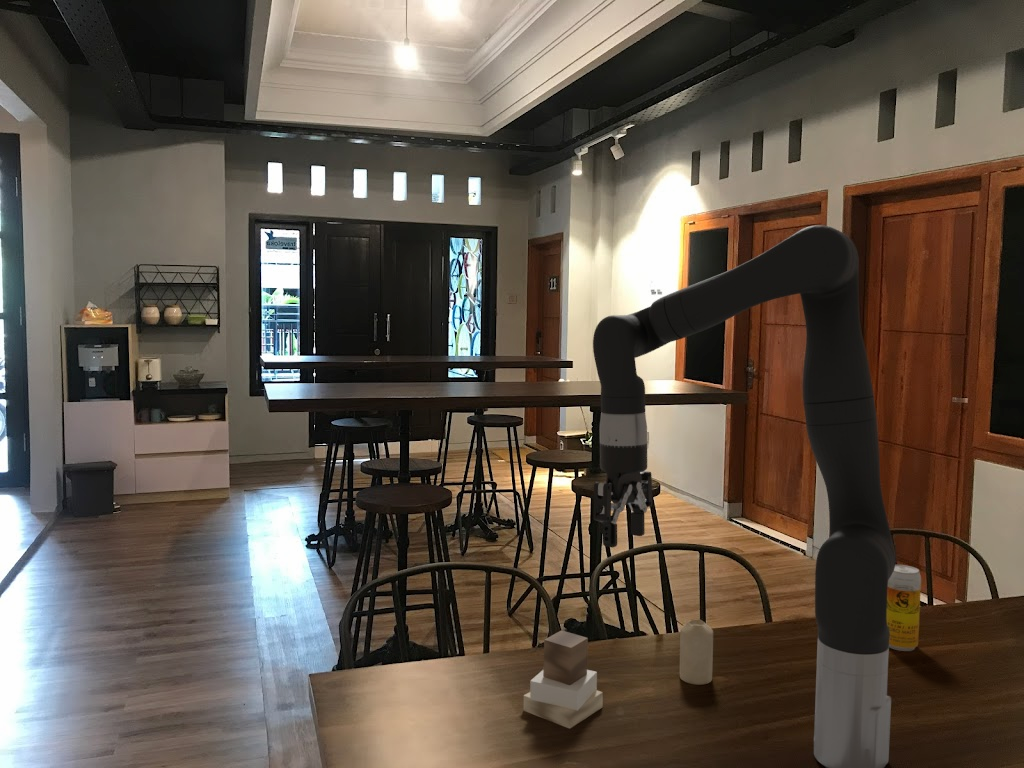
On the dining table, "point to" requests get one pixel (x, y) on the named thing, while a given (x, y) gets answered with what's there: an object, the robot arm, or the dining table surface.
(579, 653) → the walnut block
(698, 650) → the candle
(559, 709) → the slab lower
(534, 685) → the slab upper
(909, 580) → the beer can
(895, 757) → the dining table surface
